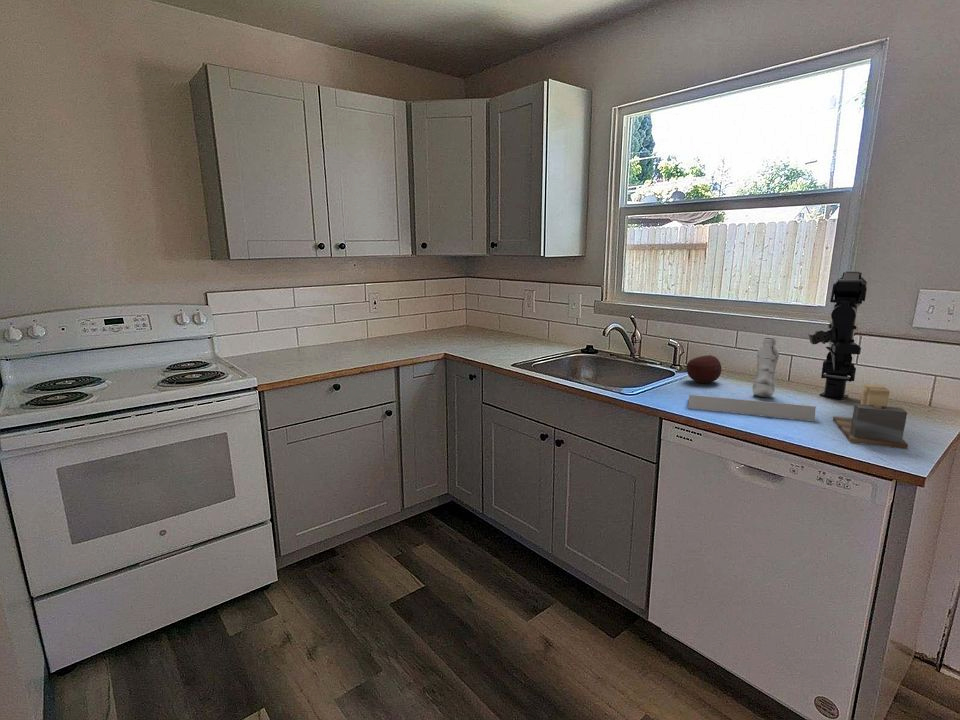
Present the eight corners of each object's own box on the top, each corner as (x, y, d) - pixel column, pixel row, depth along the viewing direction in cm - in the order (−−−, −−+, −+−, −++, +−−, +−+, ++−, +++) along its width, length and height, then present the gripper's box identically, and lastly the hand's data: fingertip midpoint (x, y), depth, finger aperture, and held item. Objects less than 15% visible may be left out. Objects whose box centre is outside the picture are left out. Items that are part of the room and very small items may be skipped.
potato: (678, 380, 193) (680, 354, 191) (707, 377, 196) (709, 351, 194) (698, 388, 182) (700, 360, 180) (728, 385, 186) (731, 357, 184)
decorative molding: (688, 408, 169) (688, 409, 160) (689, 394, 169) (689, 394, 160) (806, 421, 156) (814, 422, 147) (807, 405, 156) (815, 406, 147)
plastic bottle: (748, 393, 175) (755, 336, 171) (770, 394, 174) (777, 337, 170) (754, 398, 169) (761, 340, 165) (776, 399, 168) (784, 340, 163)
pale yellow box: (857, 425, 139) (863, 383, 137) (874, 427, 138) (881, 385, 135) (865, 434, 133) (872, 391, 130) (883, 436, 131) (891, 392, 128)
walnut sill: (832, 420, 148) (837, 389, 146) (882, 425, 143) (888, 394, 141) (850, 442, 131) (855, 408, 129) (907, 448, 127) (913, 414, 125)
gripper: (806, 316, 164) (800, 362, 167) (818, 324, 147) (811, 376, 150) (847, 317, 160) (840, 365, 163) (865, 326, 143) (856, 379, 146)
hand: (836, 371), depth 156 cm, fingers closed
